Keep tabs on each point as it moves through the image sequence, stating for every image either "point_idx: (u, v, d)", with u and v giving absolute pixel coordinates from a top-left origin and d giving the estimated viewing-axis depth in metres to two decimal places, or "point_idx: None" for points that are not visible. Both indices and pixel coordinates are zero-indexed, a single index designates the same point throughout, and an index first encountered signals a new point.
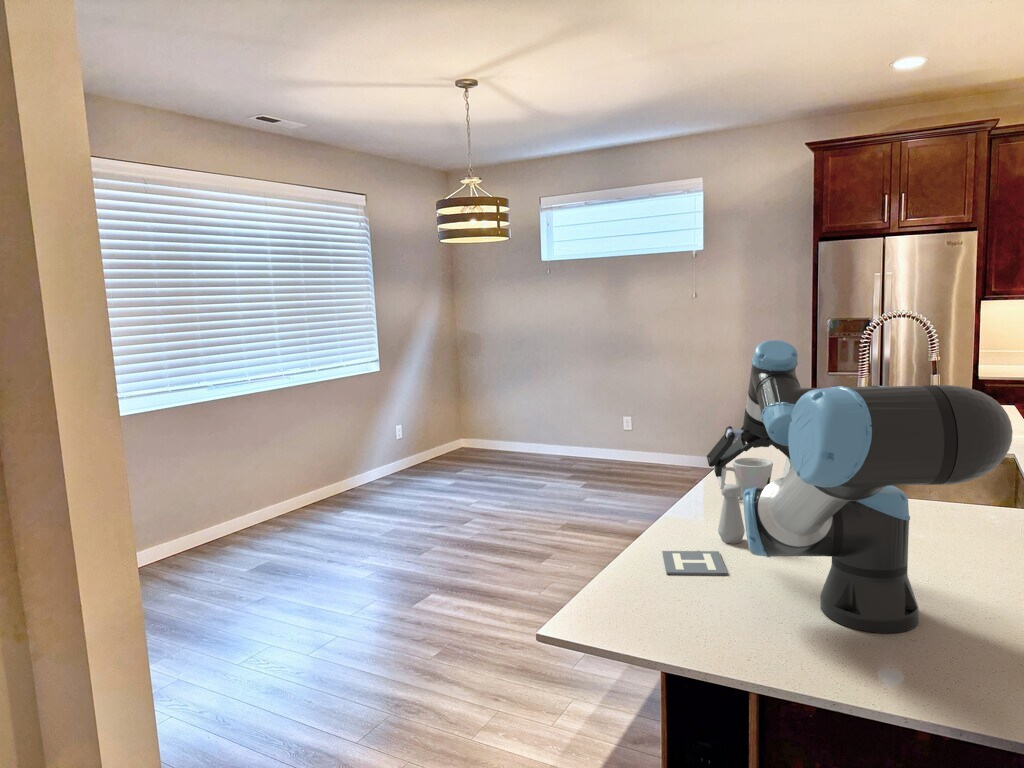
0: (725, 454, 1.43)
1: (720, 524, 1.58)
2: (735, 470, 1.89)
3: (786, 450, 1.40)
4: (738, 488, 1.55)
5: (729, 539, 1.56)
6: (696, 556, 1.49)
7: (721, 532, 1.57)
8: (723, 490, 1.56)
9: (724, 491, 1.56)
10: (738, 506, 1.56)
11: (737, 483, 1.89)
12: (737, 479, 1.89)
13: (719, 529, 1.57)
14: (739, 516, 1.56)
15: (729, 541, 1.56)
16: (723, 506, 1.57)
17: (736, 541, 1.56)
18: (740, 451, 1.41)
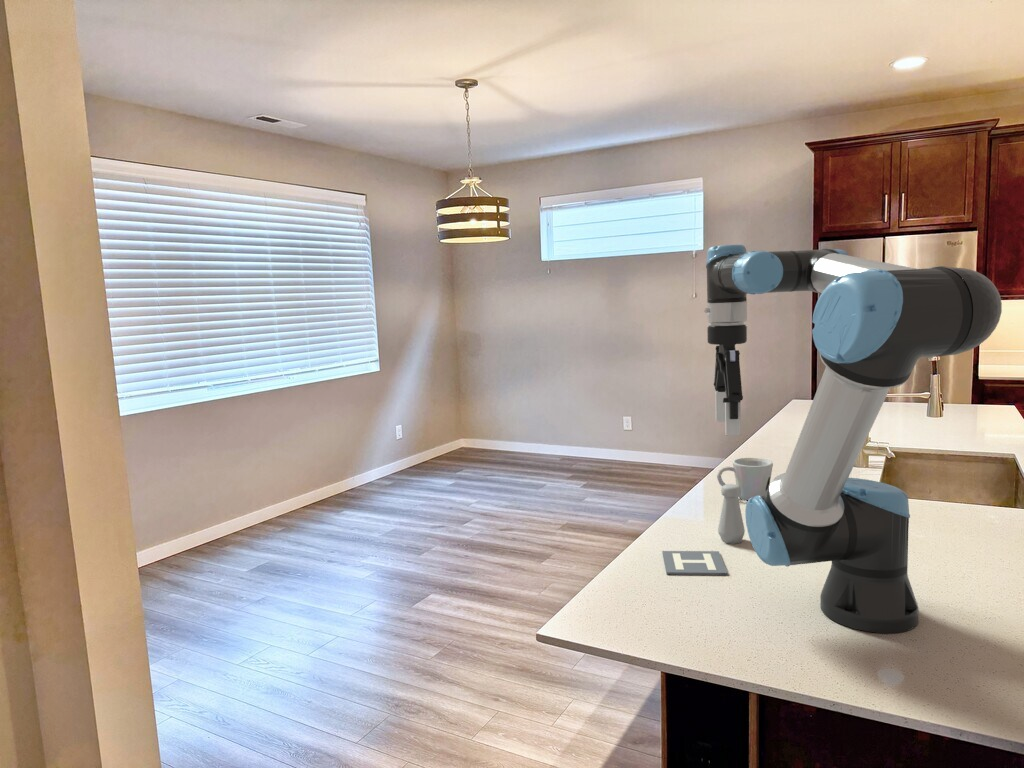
0: None
1: (720, 524, 1.58)
2: (735, 470, 1.89)
3: None
4: (738, 488, 1.55)
5: (729, 539, 1.56)
6: (696, 556, 1.49)
7: (721, 532, 1.57)
8: (723, 490, 1.56)
9: (724, 491, 1.56)
10: (738, 506, 1.56)
11: (737, 483, 1.89)
12: (737, 479, 1.89)
13: (719, 529, 1.57)
14: (739, 516, 1.56)
15: (729, 541, 1.56)
16: (723, 506, 1.57)
17: (736, 541, 1.56)
18: None
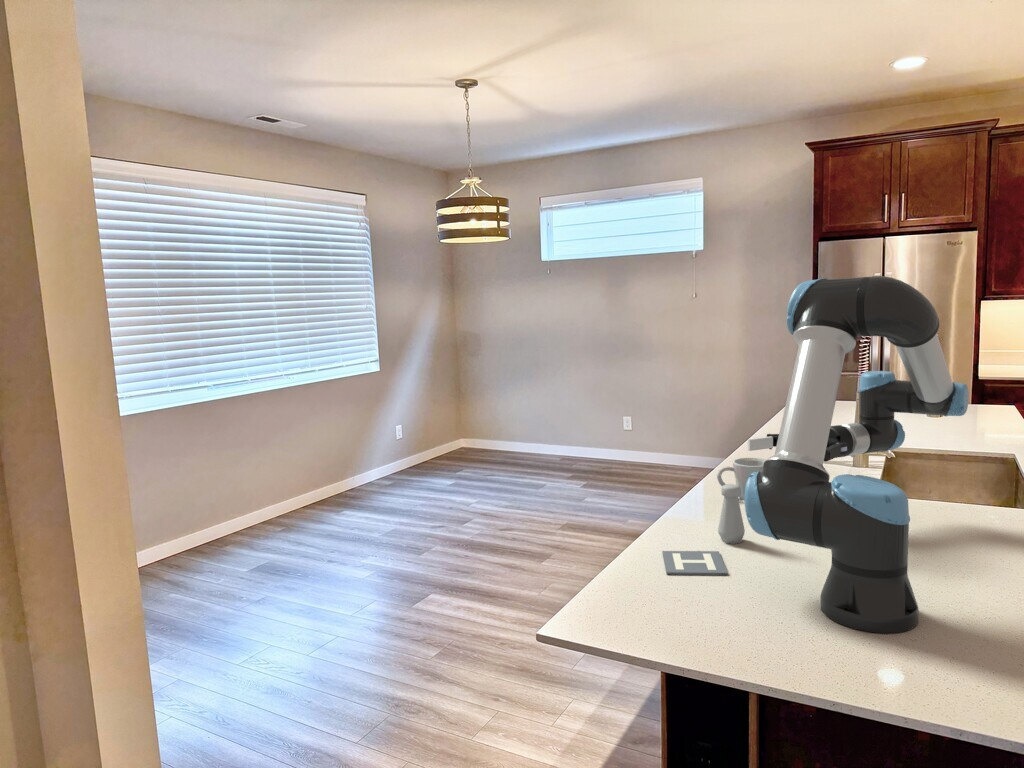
0: None
1: (720, 524, 1.58)
2: (735, 470, 1.89)
3: None
4: (738, 488, 1.55)
5: (729, 539, 1.56)
6: (696, 556, 1.49)
7: (721, 532, 1.57)
8: (723, 490, 1.56)
9: (724, 491, 1.56)
10: (738, 506, 1.56)
11: (737, 483, 1.89)
12: (737, 479, 1.89)
13: (719, 529, 1.57)
14: (739, 516, 1.56)
15: (729, 541, 1.56)
16: (723, 506, 1.57)
17: (736, 541, 1.56)
18: None
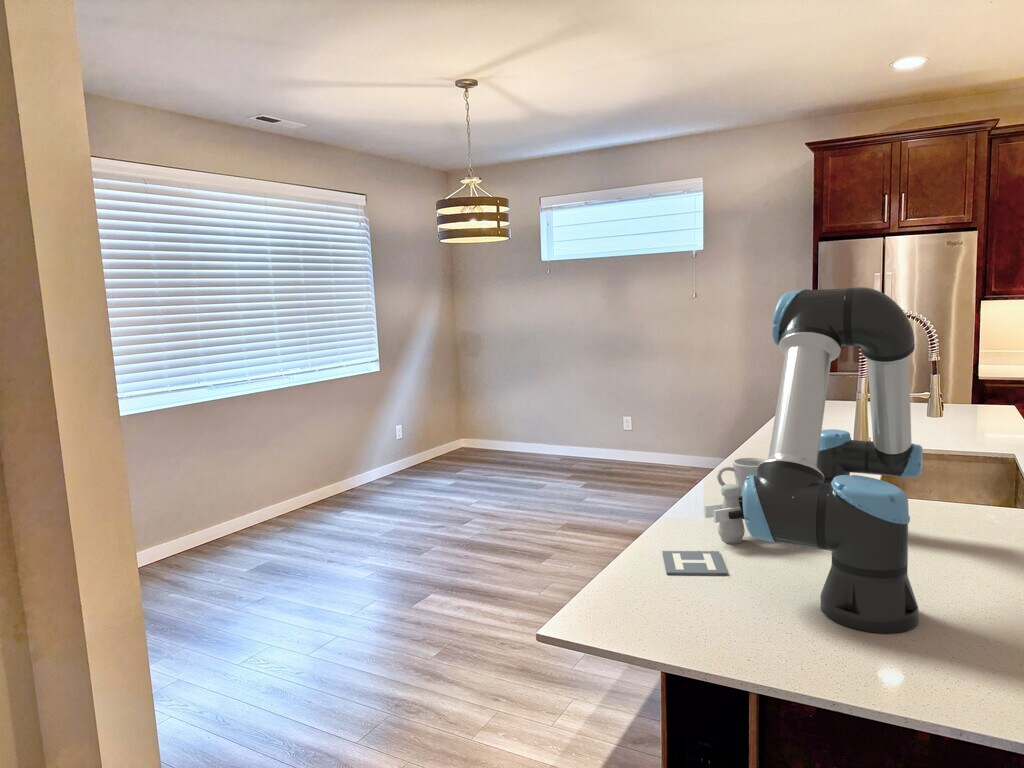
0: None
1: (720, 524, 1.58)
2: (735, 470, 1.89)
3: None
4: (738, 488, 1.55)
5: (729, 539, 1.56)
6: (696, 556, 1.49)
7: (721, 532, 1.57)
8: (723, 490, 1.56)
9: (724, 491, 1.56)
10: (738, 506, 1.56)
11: (737, 483, 1.89)
12: (737, 479, 1.89)
13: (719, 529, 1.57)
14: None
15: (729, 541, 1.56)
16: (723, 506, 1.57)
17: (736, 541, 1.56)
18: None
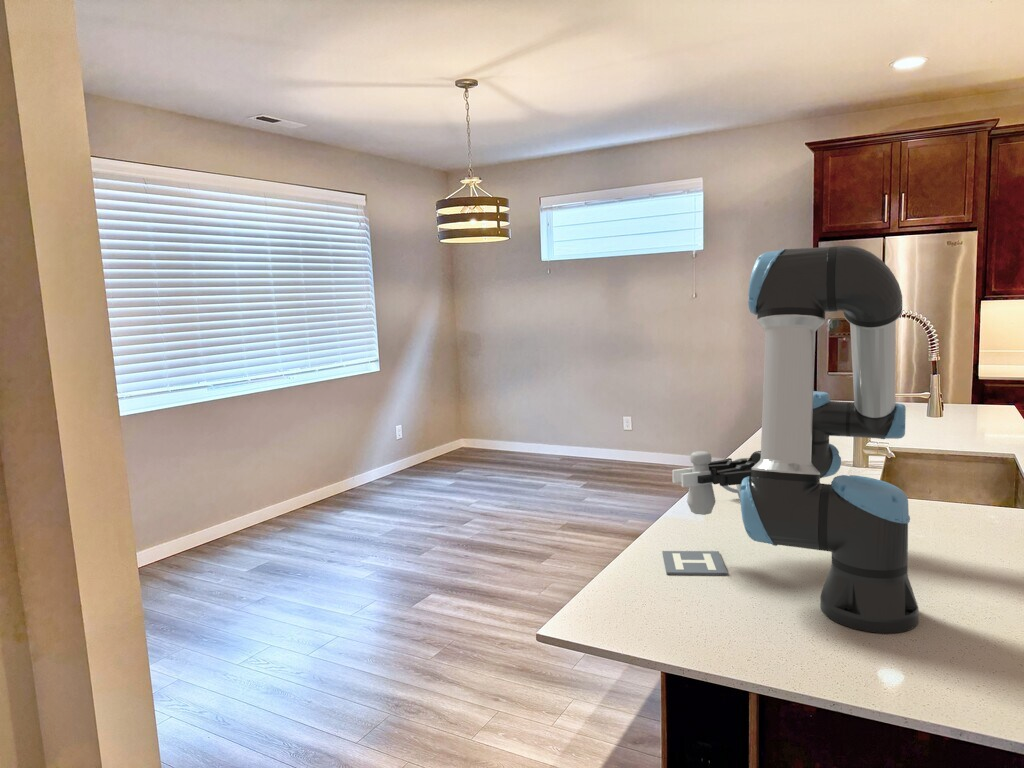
0: None
1: (689, 494, 1.47)
2: None
3: (732, 469, 1.46)
4: (708, 455, 1.45)
5: (698, 509, 1.46)
6: (696, 556, 1.49)
7: (690, 502, 1.47)
8: (692, 457, 1.46)
9: (692, 458, 1.46)
10: None
11: None
12: None
13: (688, 499, 1.47)
14: (709, 485, 1.46)
15: (698, 512, 1.46)
16: None
17: (706, 512, 1.46)
18: (725, 464, 1.51)
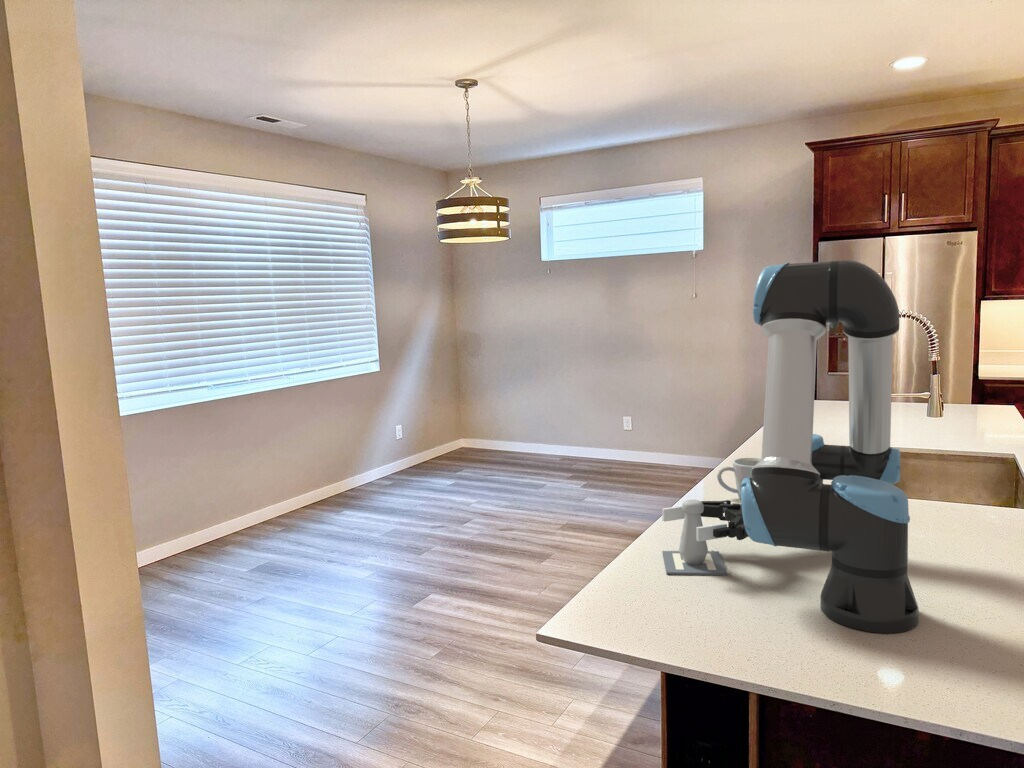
0: None
1: (681, 543, 1.45)
2: (735, 470, 1.89)
3: (738, 518, 1.42)
4: (700, 504, 1.43)
5: (690, 559, 1.44)
6: None
7: (682, 552, 1.45)
8: (684, 506, 1.44)
9: (684, 507, 1.44)
10: (700, 524, 1.44)
11: (737, 483, 1.89)
12: (737, 479, 1.89)
13: (680, 548, 1.45)
14: None
15: (690, 561, 1.44)
16: (684, 523, 1.45)
17: (698, 562, 1.44)
18: (715, 506, 1.51)
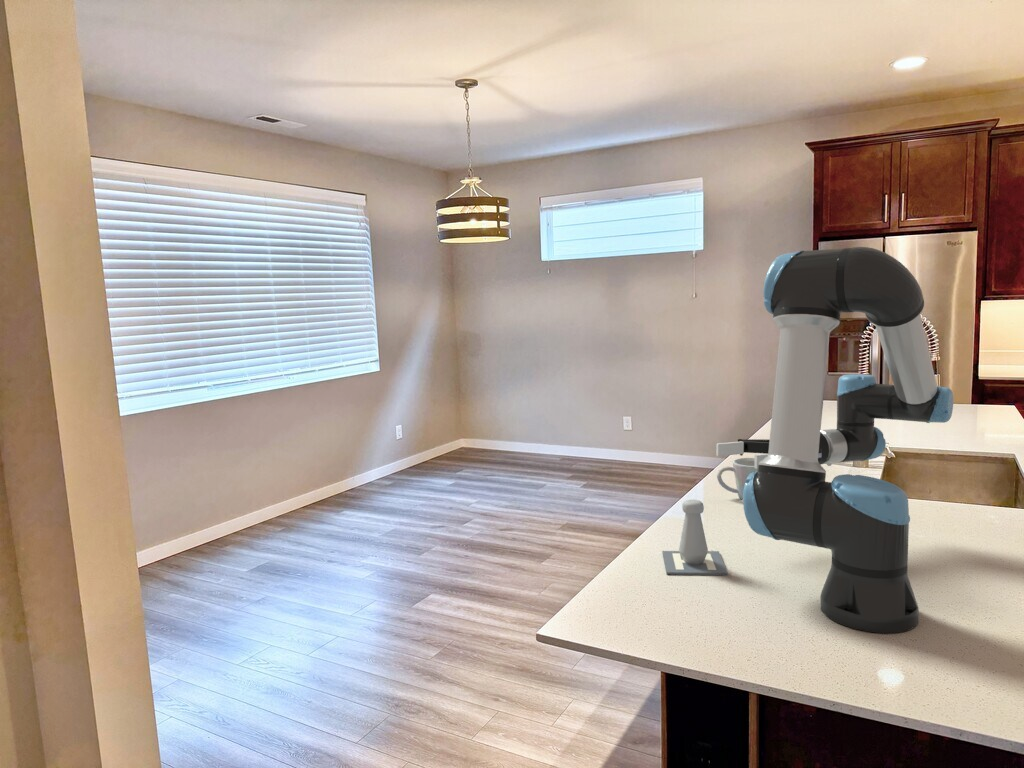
0: None
1: (681, 543, 1.45)
2: (735, 470, 1.89)
3: None
4: (700, 504, 1.43)
5: (690, 559, 1.44)
6: None
7: (682, 552, 1.45)
8: (684, 506, 1.44)
9: (684, 507, 1.44)
10: (700, 524, 1.44)
11: (737, 483, 1.89)
12: (737, 479, 1.89)
13: (680, 548, 1.45)
14: (701, 535, 1.44)
15: (690, 561, 1.44)
16: (684, 523, 1.45)
17: (698, 562, 1.44)
18: (768, 442, 1.54)
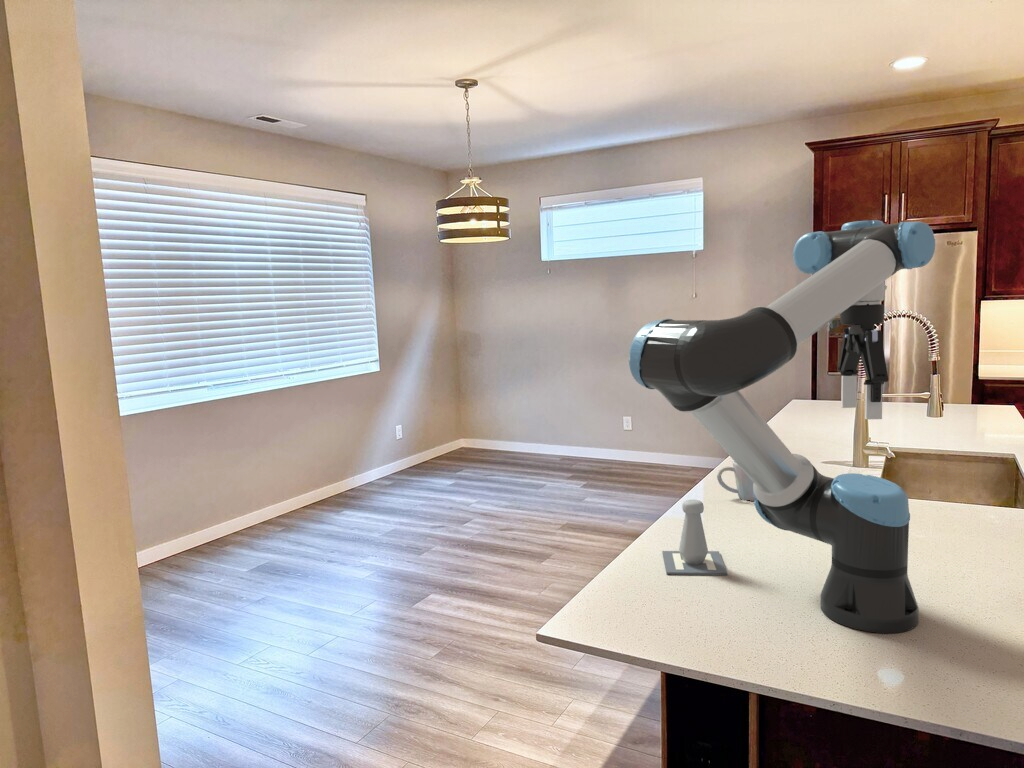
0: None
1: (681, 543, 1.45)
2: (735, 470, 1.89)
3: (864, 360, 1.29)
4: (700, 504, 1.43)
5: (690, 559, 1.44)
6: None
7: (682, 551, 1.45)
8: (684, 506, 1.44)
9: (684, 507, 1.44)
10: (700, 524, 1.44)
11: (737, 483, 1.89)
12: (737, 479, 1.89)
13: (680, 548, 1.45)
14: (701, 535, 1.44)
15: (690, 561, 1.44)
16: (684, 523, 1.45)
17: (698, 562, 1.44)
18: (847, 353, 1.38)
